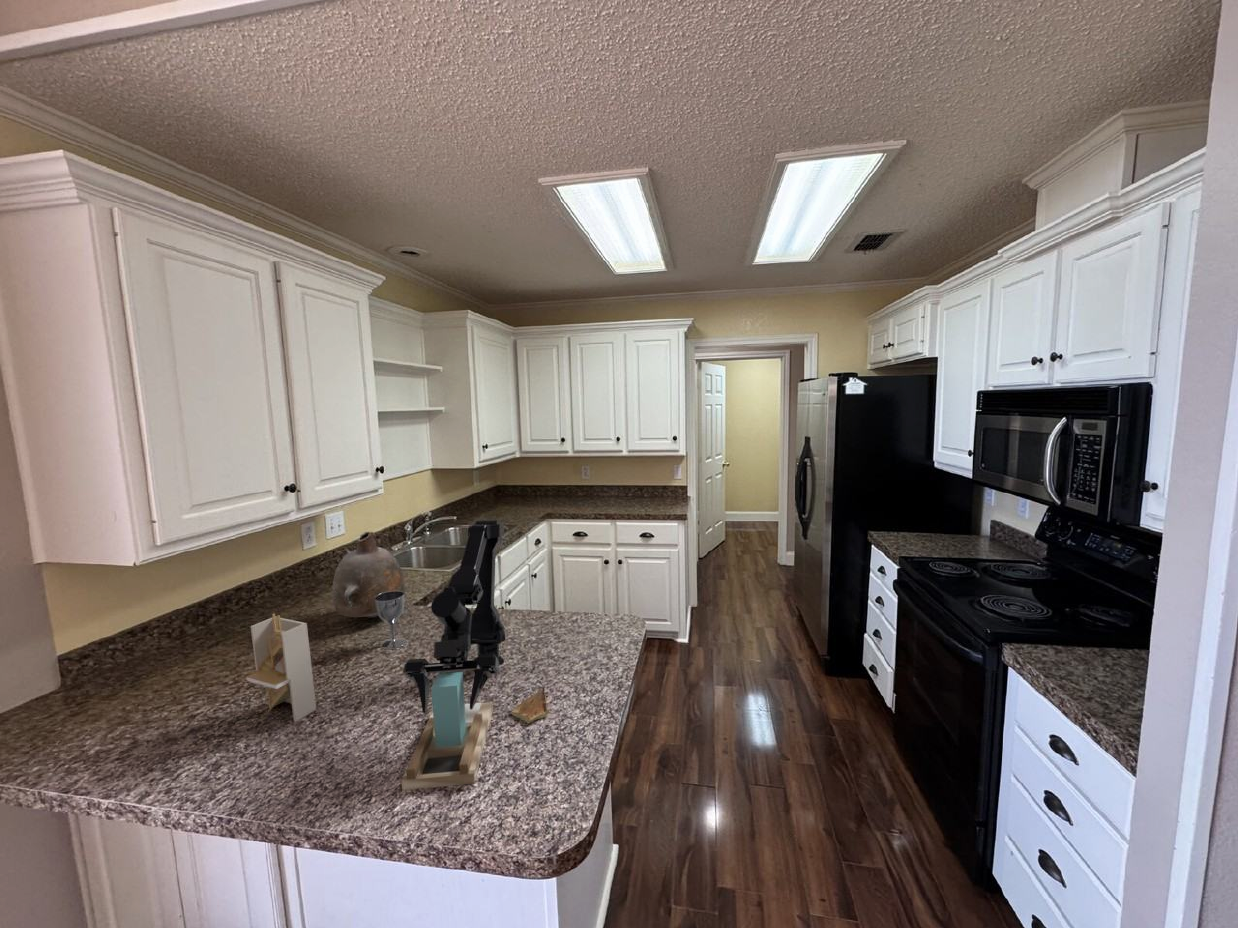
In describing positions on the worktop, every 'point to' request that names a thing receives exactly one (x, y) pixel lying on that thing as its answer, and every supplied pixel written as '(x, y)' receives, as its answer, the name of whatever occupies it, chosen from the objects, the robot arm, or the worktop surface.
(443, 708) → the tall block
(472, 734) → the beige tray
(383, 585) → the jug
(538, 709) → the shard
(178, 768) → the worktop surface
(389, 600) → the wine glass
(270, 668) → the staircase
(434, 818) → the worktop surface
